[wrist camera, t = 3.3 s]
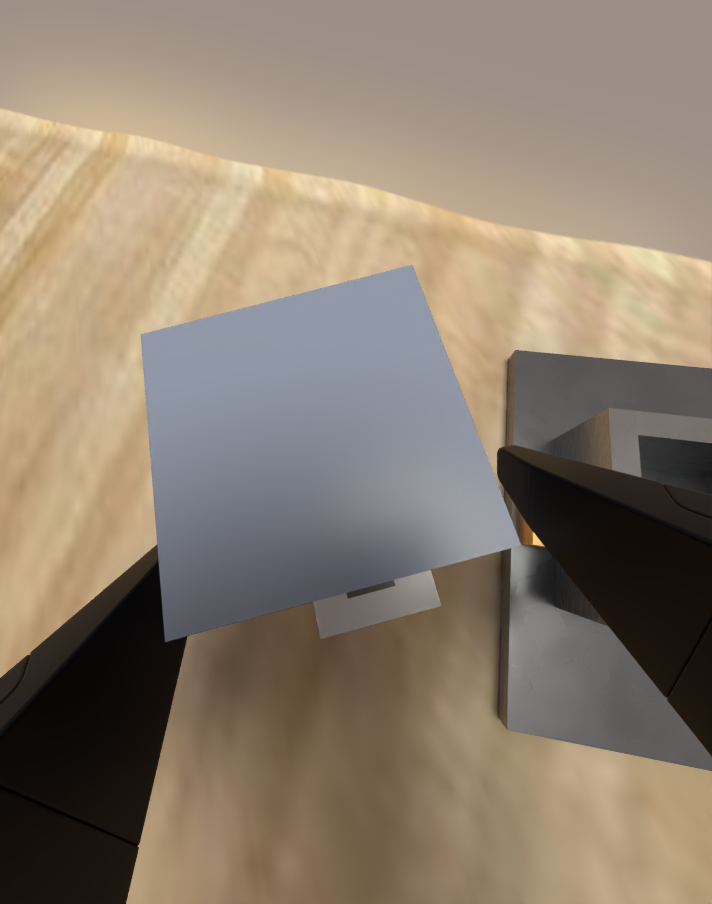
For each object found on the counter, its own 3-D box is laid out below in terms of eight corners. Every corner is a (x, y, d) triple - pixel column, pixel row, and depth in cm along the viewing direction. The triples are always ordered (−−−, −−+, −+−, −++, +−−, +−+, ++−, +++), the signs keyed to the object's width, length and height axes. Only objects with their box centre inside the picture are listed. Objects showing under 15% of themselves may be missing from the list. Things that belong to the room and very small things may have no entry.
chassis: (800, 776, 13) (1045, 912, 8) (498, 717, 14) (561, 806, 9) (731, 381, 18) (864, 322, 13) (508, 359, 19) (553, 297, 14)
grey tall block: (423, 588, 16) (607, 763, 3) (335, 612, 16) (183, 883, 3) (374, 423, 18) (375, 169, 6) (298, 443, 18) (132, 230, 6)
